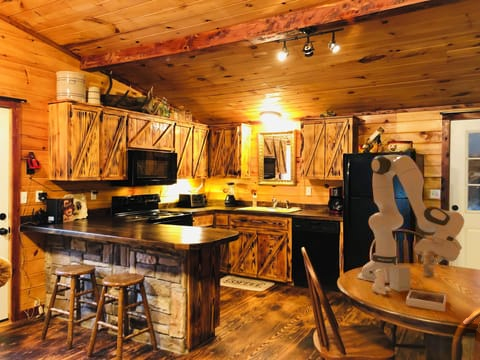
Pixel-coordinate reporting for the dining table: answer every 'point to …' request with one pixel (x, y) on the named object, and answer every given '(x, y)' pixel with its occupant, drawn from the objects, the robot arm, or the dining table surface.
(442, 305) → the open box
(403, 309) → the dining table surface
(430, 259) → the birch peg
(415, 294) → the bore plate
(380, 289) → the seated beast figurine
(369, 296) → the dining table surface
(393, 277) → the supplement box
